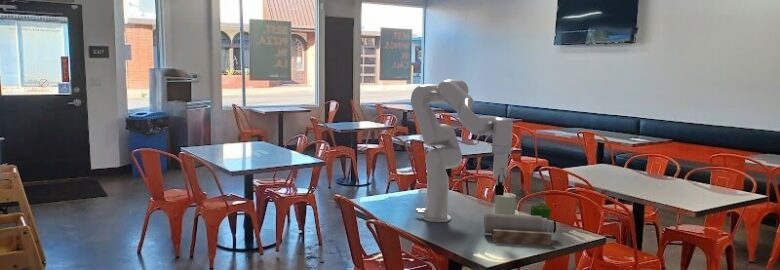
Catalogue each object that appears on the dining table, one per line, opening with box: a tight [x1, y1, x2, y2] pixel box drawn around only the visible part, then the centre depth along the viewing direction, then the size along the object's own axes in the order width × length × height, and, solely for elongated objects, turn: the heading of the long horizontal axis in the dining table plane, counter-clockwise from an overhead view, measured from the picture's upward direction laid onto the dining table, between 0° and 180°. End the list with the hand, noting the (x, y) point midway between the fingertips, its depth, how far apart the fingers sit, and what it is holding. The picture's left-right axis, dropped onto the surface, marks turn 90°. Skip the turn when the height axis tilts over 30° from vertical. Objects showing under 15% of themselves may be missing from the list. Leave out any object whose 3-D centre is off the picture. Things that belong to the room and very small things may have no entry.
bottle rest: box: [490, 229, 552, 246], centre depth 237 cm, size 22×15×4 cm
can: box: [494, 192, 517, 215], centre depth 264 cm, size 9×9×12 cm
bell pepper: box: [529, 201, 551, 220], centre depth 259 cm, size 8×8×10 cm
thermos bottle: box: [483, 212, 557, 235], centre depth 238 cm, size 8×8×28 cm
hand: (499, 194), depth 236 cm, fingers closed
